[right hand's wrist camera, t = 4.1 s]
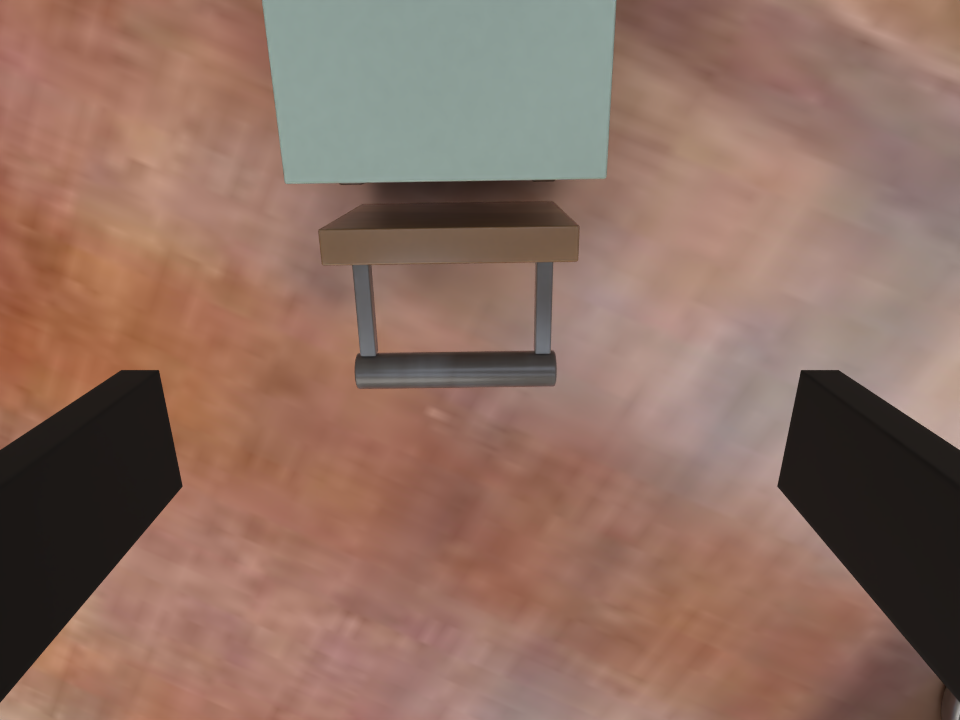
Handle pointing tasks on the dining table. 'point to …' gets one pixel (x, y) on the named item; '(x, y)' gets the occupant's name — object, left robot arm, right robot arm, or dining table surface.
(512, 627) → the dining table surface
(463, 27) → the green drawer casing
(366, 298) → the drawer
